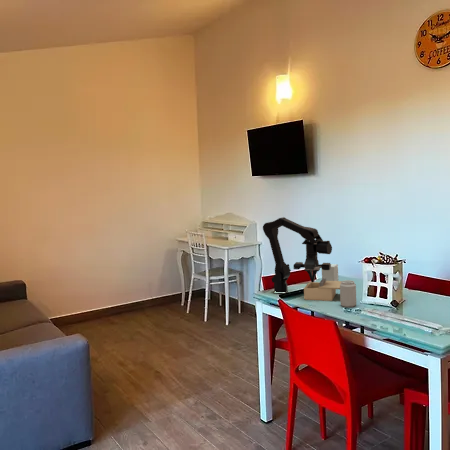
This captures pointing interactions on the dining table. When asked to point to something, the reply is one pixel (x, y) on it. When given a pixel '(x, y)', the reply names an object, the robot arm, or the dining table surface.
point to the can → (348, 293)
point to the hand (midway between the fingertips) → (312, 282)
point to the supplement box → (331, 273)
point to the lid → (329, 284)
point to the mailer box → (318, 292)
